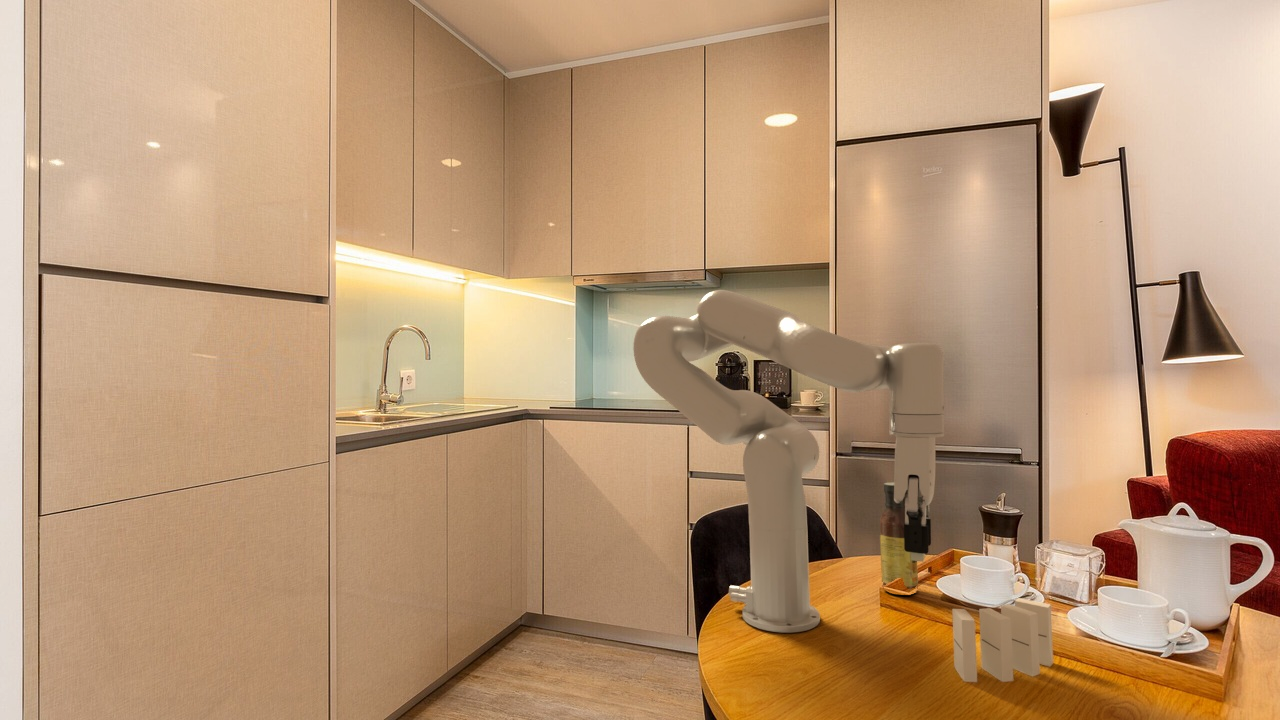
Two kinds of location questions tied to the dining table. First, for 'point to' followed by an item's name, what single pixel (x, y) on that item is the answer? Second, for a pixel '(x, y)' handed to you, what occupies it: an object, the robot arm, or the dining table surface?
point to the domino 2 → (996, 644)
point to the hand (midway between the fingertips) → (917, 547)
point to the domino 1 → (964, 645)
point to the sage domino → (918, 555)
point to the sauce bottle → (895, 543)
